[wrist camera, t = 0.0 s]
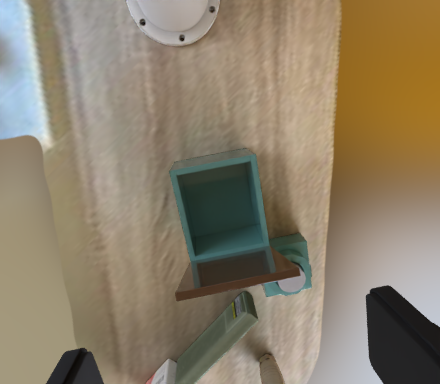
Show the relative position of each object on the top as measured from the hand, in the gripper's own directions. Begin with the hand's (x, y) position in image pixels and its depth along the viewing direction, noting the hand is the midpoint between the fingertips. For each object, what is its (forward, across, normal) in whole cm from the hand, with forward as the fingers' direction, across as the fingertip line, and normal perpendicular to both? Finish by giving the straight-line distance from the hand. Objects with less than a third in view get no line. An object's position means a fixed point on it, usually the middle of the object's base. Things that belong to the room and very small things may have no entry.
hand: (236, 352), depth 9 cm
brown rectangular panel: (+22, -1, +9) cm, 24 cm away
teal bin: (+37, -1, +5) cm, 37 cm away
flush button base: (+37, -10, +19) cm, 43 cm away
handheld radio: (+37, +7, +32) cm, 49 cm away
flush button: (+32, -9, +19) cm, 39 cm away
